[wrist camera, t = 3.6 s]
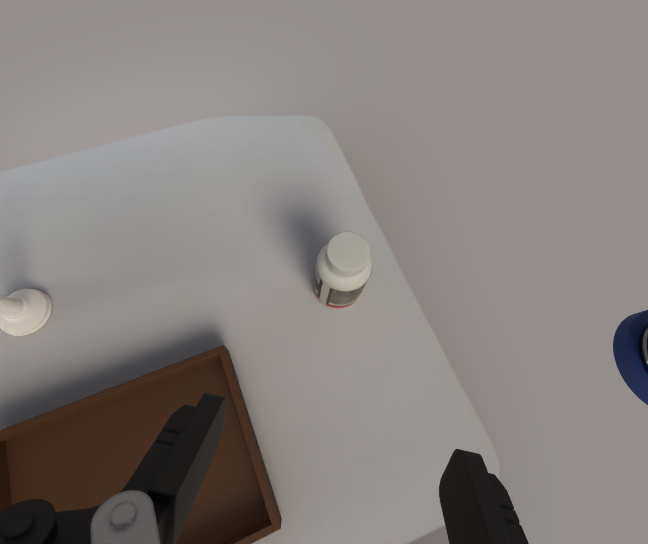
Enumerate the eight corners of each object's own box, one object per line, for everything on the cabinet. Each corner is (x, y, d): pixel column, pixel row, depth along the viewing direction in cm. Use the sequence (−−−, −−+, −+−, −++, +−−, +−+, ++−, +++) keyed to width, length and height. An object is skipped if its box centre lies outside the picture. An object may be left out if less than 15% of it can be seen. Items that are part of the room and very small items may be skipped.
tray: (228, 350, 37) (223, 345, 35) (281, 519, 32) (280, 528, 29) (2, 436, 33) (-23, 438, 30) (23, 649, 28) (-5, 673, 25)
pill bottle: (368, 282, 41) (390, 245, 32) (343, 319, 39) (358, 291, 30) (330, 257, 42) (340, 213, 33) (303, 292, 40) (306, 256, 31)
